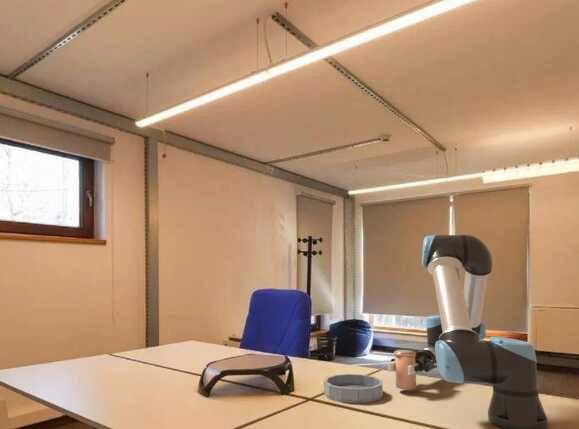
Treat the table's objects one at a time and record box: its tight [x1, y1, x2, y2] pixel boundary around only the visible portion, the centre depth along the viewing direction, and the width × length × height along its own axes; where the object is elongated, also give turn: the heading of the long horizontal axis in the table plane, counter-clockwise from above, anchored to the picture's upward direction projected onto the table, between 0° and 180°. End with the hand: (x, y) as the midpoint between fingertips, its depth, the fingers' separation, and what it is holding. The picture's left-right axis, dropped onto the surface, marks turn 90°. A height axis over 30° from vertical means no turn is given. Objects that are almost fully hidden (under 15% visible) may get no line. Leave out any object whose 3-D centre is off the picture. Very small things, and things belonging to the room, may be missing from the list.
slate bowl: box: [323, 373, 384, 404], centre depth 149 cm, size 20×20×4 cm
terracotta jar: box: [393, 349, 417, 391], centre depth 153 cm, size 8×8×12 cm
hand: (398, 368), depth 149 cm, fingers closed on terracotta jar, 7 cm apart
